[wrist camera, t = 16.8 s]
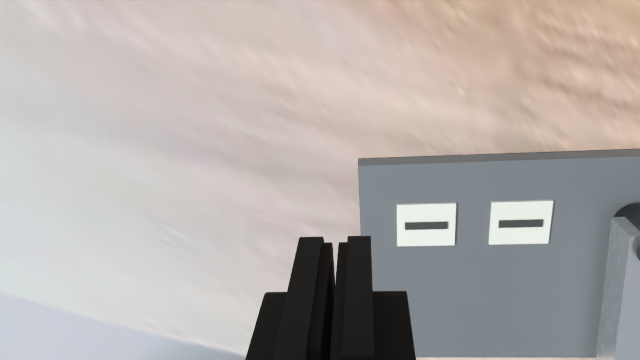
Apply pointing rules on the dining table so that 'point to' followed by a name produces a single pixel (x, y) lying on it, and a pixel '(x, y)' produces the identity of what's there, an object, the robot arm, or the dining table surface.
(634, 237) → the swing bar
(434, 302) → the label board
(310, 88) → the dining table surface
